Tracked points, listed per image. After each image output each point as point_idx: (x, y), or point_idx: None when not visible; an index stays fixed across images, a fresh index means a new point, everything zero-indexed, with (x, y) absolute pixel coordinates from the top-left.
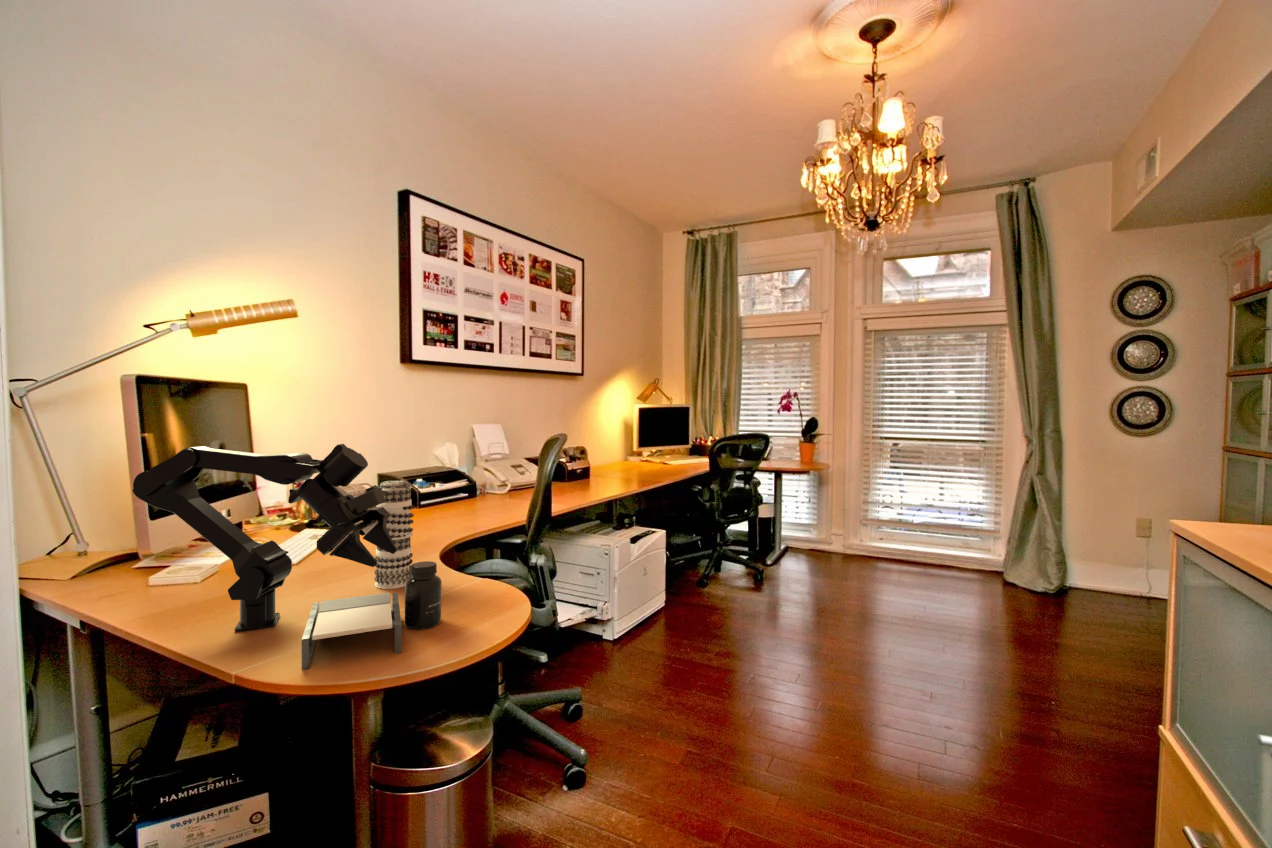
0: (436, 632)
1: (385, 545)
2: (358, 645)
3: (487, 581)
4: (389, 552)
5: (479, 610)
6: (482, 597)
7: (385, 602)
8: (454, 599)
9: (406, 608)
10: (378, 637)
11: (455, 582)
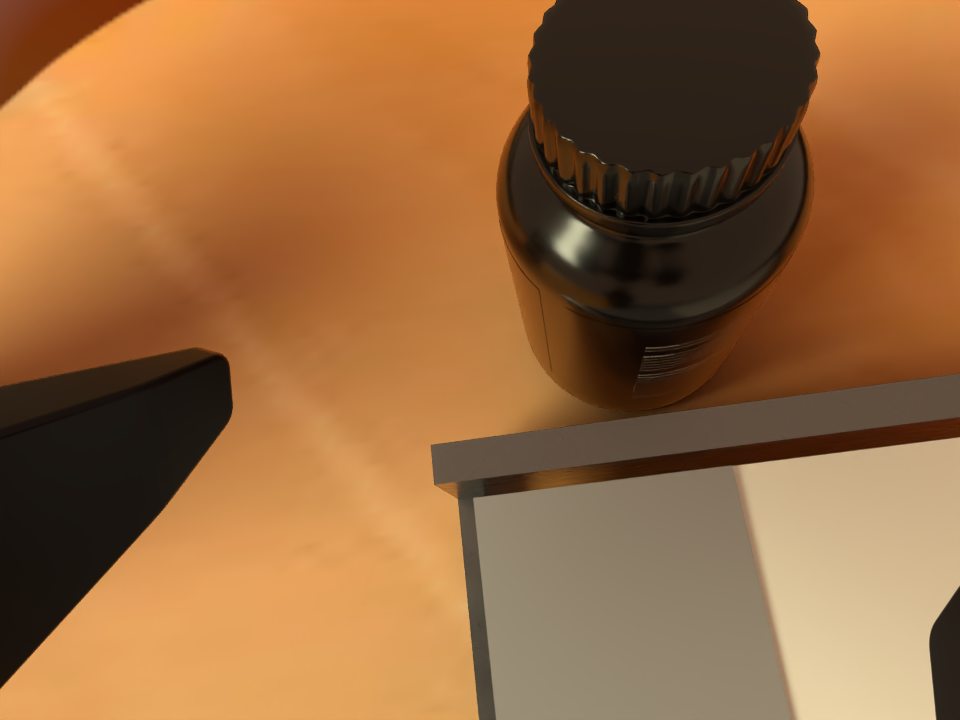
0: None
1: (85, 517)
2: None
3: (77, 47)
4: (196, 463)
5: (504, 60)
6: (315, 57)
7: (727, 505)
8: (289, 185)
9: (703, 365)
10: None
11: (10, 197)
